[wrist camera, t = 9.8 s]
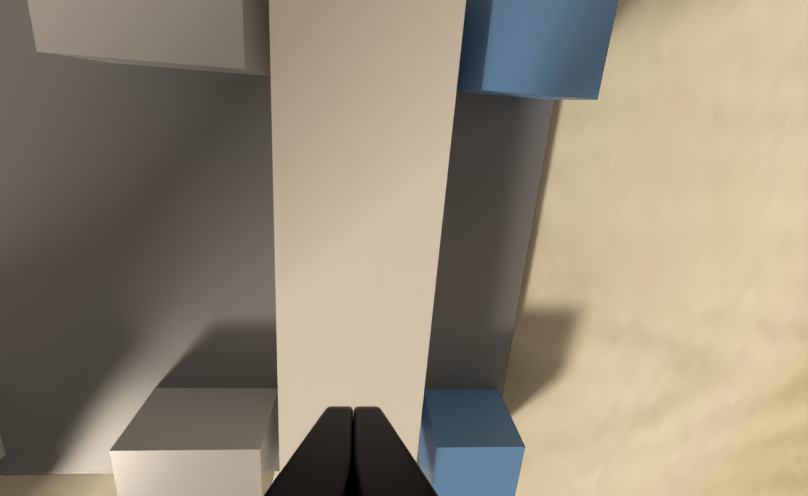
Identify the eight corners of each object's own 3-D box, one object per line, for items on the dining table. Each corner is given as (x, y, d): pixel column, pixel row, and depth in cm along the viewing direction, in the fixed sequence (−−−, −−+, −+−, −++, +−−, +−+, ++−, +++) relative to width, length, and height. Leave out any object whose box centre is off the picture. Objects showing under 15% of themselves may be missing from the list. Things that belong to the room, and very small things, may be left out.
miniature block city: (485, 456, 19) (511, 534, 16) (-68, 463, 16) (-179, 557, 13) (571, -39, 13) (645, -90, 10) (-282, -145, 10) (-591, -262, 7)
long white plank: (398, 439, 17) (408, 532, 14) (299, 440, 17) (281, 536, 13) (438, -4, 12) (471, -50, 9) (297, -19, 12) (267, -75, 8)
